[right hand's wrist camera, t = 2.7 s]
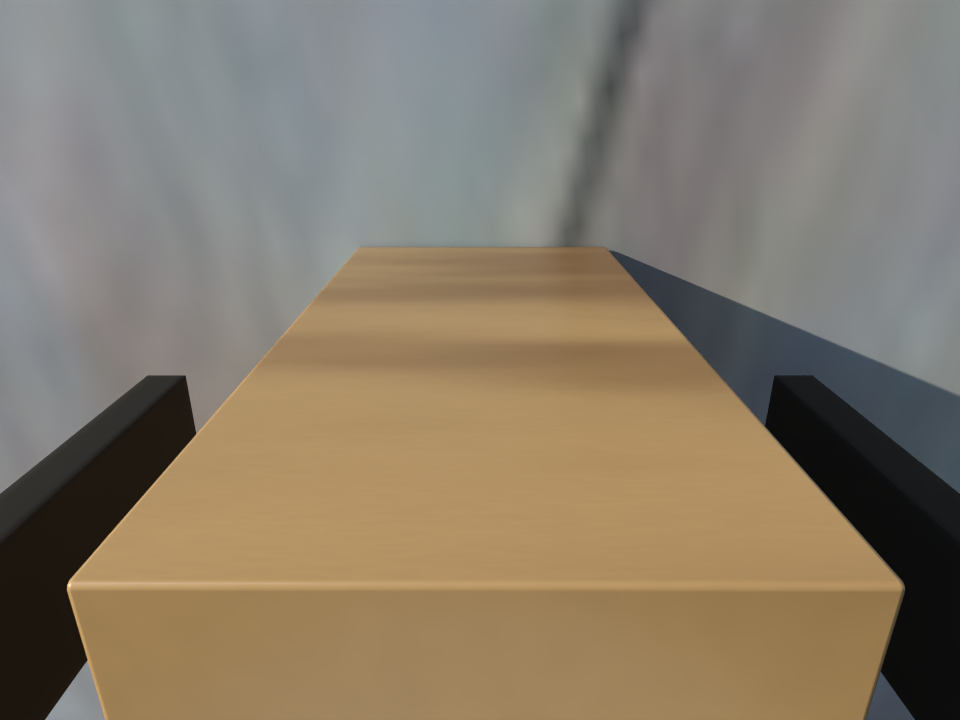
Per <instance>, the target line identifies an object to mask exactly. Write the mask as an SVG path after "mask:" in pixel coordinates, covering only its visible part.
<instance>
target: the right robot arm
mask: <svg viewBox="0 0 960 720" xmlns="http://www.w3.org/2000/svg"><path fill="white" fill-rule="evenodd" d="M765 427H766V428H767V429H768V430H769V432H770V433H771V434H772V435H773V436H774V437H775V438H776V439H777V441H778V442H779V443H780V444H781V445H782V446H783V447H784V448H785V450H786V451H787V452H788V453H789V454H790V455H791V456H792V457H793V459H794V460H795V461H796V462H797V463H798V464H799V465H800V466H801V468H802V469H803V470H804V471H805V472H806V473H807V474H808V475H809V477H810V478H811V479H812V480H813V481H814V482H815V483H816V484H817V486H818V487H819V488H820V489H821V490H822V491H823V492H824V493H825V495H826V496H827V497H828V498H829V499H830V500H831V501H832V502H833V504H834V505H835V506H836V507H837V508H838V509H839V510H840V511H841V513H842V514H843V515H844V516H845V517H846V518H847V519H848V520H849V522H850V523H851V524H852V525H853V526H854V527H855V528H856V529H857V531H858V532H859V533H860V534H861V535H862V536H863V537H864V538H865V540H866V541H867V542H868V543H869V544H870V545H871V546H872V548H873V549H874V550H875V551H876V552H877V553H878V554H879V555H880V557H881V558H882V559H883V560H884V561H885V562H886V563H887V564H888V566H889V567H890V568H891V569H892V570H893V571H894V572H895V573H896V575H897V576H898V577H899V578H900V579H901V580H902V581H903V583H904V586H905V593H904V596H903V600H902V603H901V606H900V609H899V613H898V616H897V619H896V622H895V626H894V629H893V632H892V635H891V639H890V642H889V645H888V648H887V652H886V655H885V658H884V662H883V665H882V668H881V672H882V674H883V675H884V677H885V678H886V680H887V681H888V682H889V684H890V685H891V687H892V688H893V689H894V691H895V692H896V694H897V695H898V696H899V698H900V699H901V701H902V702H903V703H904V705H905V706H906V708H907V709H908V710H909V712H910V713H911V715H912V716H913V717H914V719H915V720H960V494H959V493H958V492H957V491H955V490H954V489H953V488H952V487H950V486H949V485H948V484H947V483H945V482H944V481H943V480H942V479H940V478H939V477H938V476H937V475H935V474H934V473H933V472H932V471H930V470H929V469H928V468H927V467H926V466H924V465H923V464H922V463H921V462H919V461H918V460H917V459H916V458H914V457H913V456H912V455H911V454H909V453H908V452H907V451H906V450H904V449H903V448H902V447H901V446H899V445H898V444H897V443H896V442H894V441H893V440H892V439H891V438H889V437H888V436H887V435H886V434H884V433H883V432H882V431H881V430H879V429H878V428H877V427H876V426H874V425H873V424H872V423H871V422H870V421H868V420H867V419H866V418H865V417H863V416H862V415H861V414H860V413H858V412H857V411H856V410H855V409H853V408H852V407H851V406H850V405H848V404H847V403H846V402H845V401H843V400H842V399H841V398H840V397H838V396H837V395H836V394H835V393H833V392H832V391H831V390H830V389H828V388H827V387H826V386H825V385H823V384H822V383H821V382H820V381H818V380H817V379H816V378H815V377H814V376H774V381H773V387H772V392H771V397H770V403H769V408H768V414H767V419H766V425H765ZM195 435H196V430H195V425H194V419H193V414H192V408H191V403H190V397H189V392H188V386H187V381H186V376H146V377H145V378H144V379H143V380H142V381H140V382H139V383H138V384H137V385H135V386H134V387H133V388H132V389H130V390H129V391H128V392H127V393H125V394H124V395H123V396H122V397H120V398H119V399H118V400H117V401H115V402H114V403H113V404H112V405H110V406H109V407H108V408H107V409H105V410H104V411H103V412H102V413H100V414H99V415H98V416H97V417H95V418H94V419H93V420H92V421H90V422H89V423H88V424H87V425H86V426H84V427H83V428H82V429H81V430H79V431H78V432H77V433H76V434H74V435H73V436H72V437H71V438H69V439H68V440H67V441H66V442H64V443H63V444H62V445H61V446H59V447H58V448H57V449H56V450H54V451H53V452H52V453H51V454H49V455H48V456H47V457H46V458H44V459H43V460H42V461H41V462H39V463H38V464H37V465H36V466H34V467H33V468H32V469H31V470H30V471H28V472H27V473H26V474H25V475H23V476H22V477H21V478H20V479H18V480H17V481H16V482H15V483H13V484H12V485H11V486H10V487H8V488H7V489H6V490H5V491H3V492H2V493H1V494H0V720H45V719H46V717H47V716H48V715H49V713H50V712H51V710H52V709H53V708H54V706H55V705H56V703H57V702H58V701H59V699H60V698H61V696H62V695H63V694H64V692H65V691H66V689H67V688H68V687H69V685H70V684H71V682H72V681H73V680H74V678H75V677H76V675H77V674H78V672H79V671H80V670H81V668H82V667H83V665H84V664H85V663H86V661H87V660H88V659H87V656H86V652H85V649H84V646H83V642H82V639H81V636H80V632H79V629H78V626H77V622H76V619H75V616H74V612H73V609H72V605H71V602H70V599H69V595H68V592H67V585H68V582H69V580H70V579H71V578H72V577H73V576H74V575H75V573H76V572H77V571H78V570H79V569H80V568H81V566H82V565H83V564H84V563H85V562H86V561H87V560H88V558H89V557H90V556H91V555H92V554H93V553H94V552H95V550H96V549H97V548H98V547H99V546H100V545H101V544H102V542H103V541H104V540H105V539H106V538H107V537H108V535H109V534H110V533H111V532H112V531H113V530H114V529H115V527H116V526H117V525H118V524H119V523H120V522H121V521H122V519H123V518H124V517H125V516H126V515H127V514H128V512H129V511H130V510H131V509H132V508H133V507H134V506H135V504H136V503H137V502H138V501H139V500H140V499H141V498H142V496H143V495H144V494H145V493H146V492H147V491H148V489H149V488H150V487H151V486H152V485H153V484H154V483H155V481H156V480H157V479H158V478H159V477H160V476H161V475H162V473H163V472H164V471H165V470H166V469H167V468H168V466H169V465H170V464H171V463H172V462H173V461H174V460H175V458H176V457H177V456H178V455H179V454H180V453H181V452H182V450H183V449H184V448H185V447H186V446H187V445H188V443H189V442H190V441H191V440H192V439H193V438H194V437H195Z"/></svg>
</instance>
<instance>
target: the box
mask: <svg viewBox="0 0 960 720" xmlns="http://www.w3.org/2000/svg"><path fill="white" fill-rule="evenodd" d="M67 592H68V595H69V599H70V602H71V605H72V609H73V612H74V616H75V619H76V622H77V626H78V629H79V632H80V636H81V639H82V642H83V646H84V649H85V652H86V656H87V659H88V662H89V666H90V669H91V673H92V676H93V679H94V683H95V686H96V689H97V693H98V696H99V699H100V703H101V706H102V709H103V713H104V716H105V720H866V717H867V714H868V710H869V707H870V704H871V701H872V697H873V694H874V691H875V688H876V684H877V681H878V678H879V675H880V671H881V668H882V665H883V662H884V658H885V655H886V652H887V648H888V645H889V642H890V639H891V635H892V632H893V629H894V626H895V622H896V619H897V616H898V613H899V609H900V606H901V603H902V600H903V596H904V593H905V586H904V583H903V581H902V580H901V579H900V578H899V577H898V576H897V575H896V573H895V572H894V571H893V570H892V569H891V568H890V567H889V566H888V564H887V563H886V562H885V561H884V560H883V559H882V558H881V557H880V555H879V554H878V553H877V552H876V551H875V550H874V549H873V548H872V546H871V545H870V544H869V543H868V542H867V541H866V540H865V538H864V537H863V536H862V535H861V534H860V533H859V532H858V531H857V529H856V528H855V527H854V526H853V525H852V524H851V523H850V522H849V520H848V519H847V518H846V517H845V516H844V515H843V514H842V513H841V511H840V510H839V509H838V508H837V507H836V506H835V505H834V504H833V502H832V501H831V500H830V499H829V498H828V497H827V496H826V495H825V493H824V492H823V491H822V490H821V489H820V488H819V487H818V486H817V484H816V483H815V482H814V481H813V480H812V479H811V478H810V477H809V475H808V474H807V473H806V472H805V471H804V470H803V469H802V468H801V466H800V465H799V464H798V463H797V462H796V461H795V460H794V459H793V457H792V456H791V455H790V454H789V453H788V452H787V451H786V450H785V448H784V447H783V446H782V445H781V444H780V443H779V442H778V441H777V439H776V438H775V437H774V436H773V435H772V434H771V433H770V432H769V430H768V429H767V428H766V427H765V426H764V425H763V424H762V423H761V421H760V420H759V419H758V418H757V417H756V416H755V415H754V414H753V412H752V411H751V410H750V409H749V408H748V407H747V406H746V405H745V403H744V402H743V401H742V400H741V399H740V398H739V397H738V396H737V394H736V393H735V392H734V391H733V390H732V389H731V388H730V387H729V385H728V384H727V383H726V382H725V381H724V380H723V379H722V378H721V376H720V375H719V374H718V373H717V372H716V371H715V370H714V369H713V367H712V366H711V365H710V364H709V363H708V362H707V361H706V360H705V358H704V357H703V356H702V355H701V354H700V353H699V352H698V351H697V349H696V348H695V347H694V346H693V345H692V344H691V343H690V342H689V340H688V339H687V338H686V337H685V336H684V335H683V334H682V333H681V331H680V330H679V329H678V328H677V327H676V326H675V325H674V324H673V322H672V321H671V320H670V319H669V318H668V317H667V316H666V314H665V313H664V312H663V311H662V310H661V309H660V308H659V307H658V305H657V304H656V303H655V302H654V301H653V300H652V299H651V298H650V296H649V295H648V294H647V293H646V292H645V291H644V290H643V289H642V287H641V286H640V285H639V284H638V283H637V282H636V281H635V280H634V278H633V277H632V276H631V275H630V274H629V273H628V272H627V271H626V269H625V268H624V267H623V266H622V265H621V264H620V263H619V262H618V260H617V259H616V258H615V257H614V256H613V255H612V254H611V253H610V251H609V250H608V249H607V248H605V247H360V248H358V249H357V250H356V252H355V253H354V254H353V255H352V256H351V257H350V258H349V260H348V261H347V262H346V263H345V264H344V265H343V266H342V268H341V269H340V270H339V271H338V272H337V273H336V275H335V276H334V277H333V278H332V279H331V280H330V281H329V283H328V284H327V285H326V286H325V287H324V288H323V289H322V291H321V292H320V293H319V294H318V295H317V296H316V297H315V299H314V300H313V301H312V302H311V303H310V304H309V306H308V307H307V308H306V309H305V310H304V311H303V312H302V314H301V315H300V316H299V317H298V318H297V319H296V320H295V322H294V323H293V324H292V325H291V326H290V327H289V329H288V330H287V331H286V332H285V333H284V334H283V335H282V337H281V338H280V339H279V340H278V341H277V342H276V343H275V345H274V346H273V347H272V348H271V349H270V350H269V352H268V353H267V354H266V355H265V356H264V357H263V358H262V360H261V361H260V362H259V363H258V364H257V365H256V366H255V368H254V369H253V370H252V371H251V372H250V373H249V375H248V376H247V377H246V378H245V379H244V380H243V381H242V383H241V384H240V385H239V386H238V387H237V388H236V389H235V391H234V392H233V393H232V394H231V395H230V396H229V398H228V399H227V400H226V401H225V402H224V403H223V404H222V406H221V407H220V408H219V409H218V410H217V411H216V412H215V414H214V415H213V416H212V417H211V418H210V419H209V421H208V422H207V423H206V424H205V425H204V426H203V427H202V429H201V430H200V431H199V432H198V433H197V434H196V435H195V437H194V438H193V439H192V440H191V441H190V442H189V443H188V445H187V446H186V447H185V448H184V449H183V450H182V452H181V453H180V454H179V455H178V456H177V457H176V458H175V460H174V461H173V462H172V463H171V464H170V465H169V466H168V468H167V469H166V470H165V471H164V472H163V473H162V475H161V476H160V477H159V478H158V479H157V480H156V481H155V483H154V484H153V485H152V486H151V487H150V488H149V489H148V491H147V492H146V493H145V494H144V495H143V496H142V498H141V499H140V500H139V501H138V502H137V503H136V504H135V506H134V507H133V508H132V509H131V510H130V511H129V512H128V514H127V515H126V516H125V517H124V518H123V519H122V521H121V522H120V523H119V524H118V525H117V526H116V527H115V529H114V530H113V531H112V532H111V533H110V534H109V535H108V537H107V538H106V539H105V540H104V541H103V542H102V544H101V545H100V546H99V547H98V548H97V549H96V550H95V552H94V553H93V554H92V555H91V556H90V557H89V558H88V560H87V561H86V562H85V563H84V564H83V565H82V566H81V568H80V569H79V570H78V571H77V572H76V573H75V575H74V576H73V577H72V578H71V579H70V580H69V582H68V585H67Z"/></svg>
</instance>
